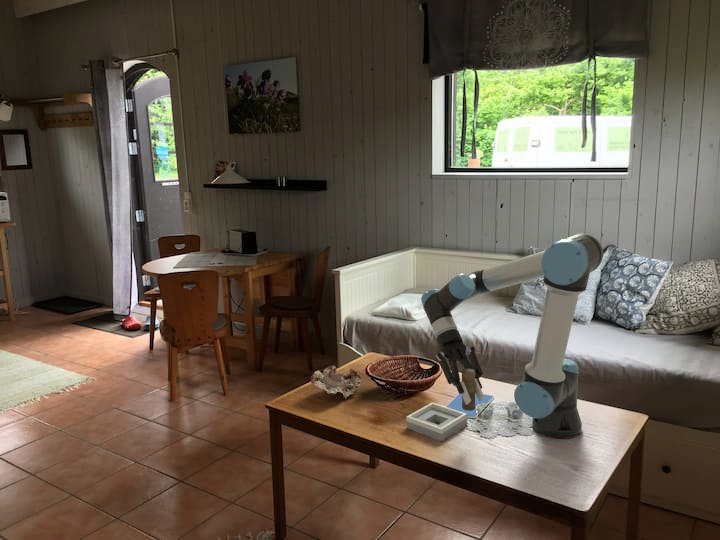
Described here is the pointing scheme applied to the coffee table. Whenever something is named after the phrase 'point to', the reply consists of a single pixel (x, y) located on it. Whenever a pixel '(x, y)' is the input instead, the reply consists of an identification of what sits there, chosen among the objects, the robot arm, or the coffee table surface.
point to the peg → (469, 388)
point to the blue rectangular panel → (457, 405)
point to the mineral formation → (336, 381)
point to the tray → (435, 412)
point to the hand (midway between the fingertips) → (475, 401)
